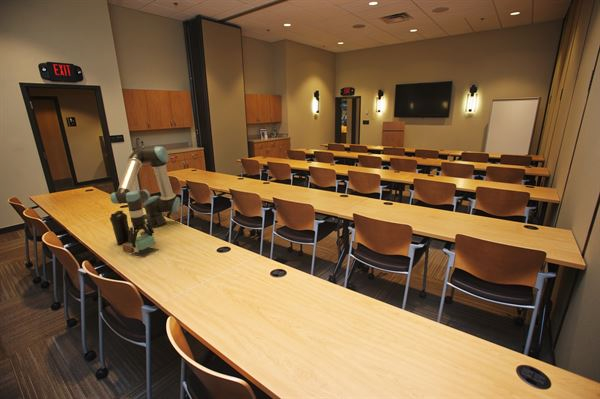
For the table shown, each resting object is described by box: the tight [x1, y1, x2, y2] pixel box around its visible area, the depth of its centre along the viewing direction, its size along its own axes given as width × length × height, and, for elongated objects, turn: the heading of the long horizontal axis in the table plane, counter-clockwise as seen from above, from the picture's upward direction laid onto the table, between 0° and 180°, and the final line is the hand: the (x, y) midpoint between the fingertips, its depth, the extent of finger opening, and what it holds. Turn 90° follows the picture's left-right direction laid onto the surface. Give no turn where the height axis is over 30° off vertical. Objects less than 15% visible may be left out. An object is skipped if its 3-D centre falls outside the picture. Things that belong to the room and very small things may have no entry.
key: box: [143, 214, 155, 232], centre depth 200 cm, size 10×9×11 cm
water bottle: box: [109, 210, 130, 246], centre depth 204 cm, size 10×10×23 cm
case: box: [121, 242, 140, 254], centre depth 195 cm, size 8×8×5 cm
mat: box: [129, 246, 160, 258], centre depth 191 cm, size 12×12×1 cm
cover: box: [130, 234, 156, 250], centre depth 189 cm, size 10×10×5 cm
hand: (143, 248), depth 190 cm, fingers closed on cover, 10 cm apart
